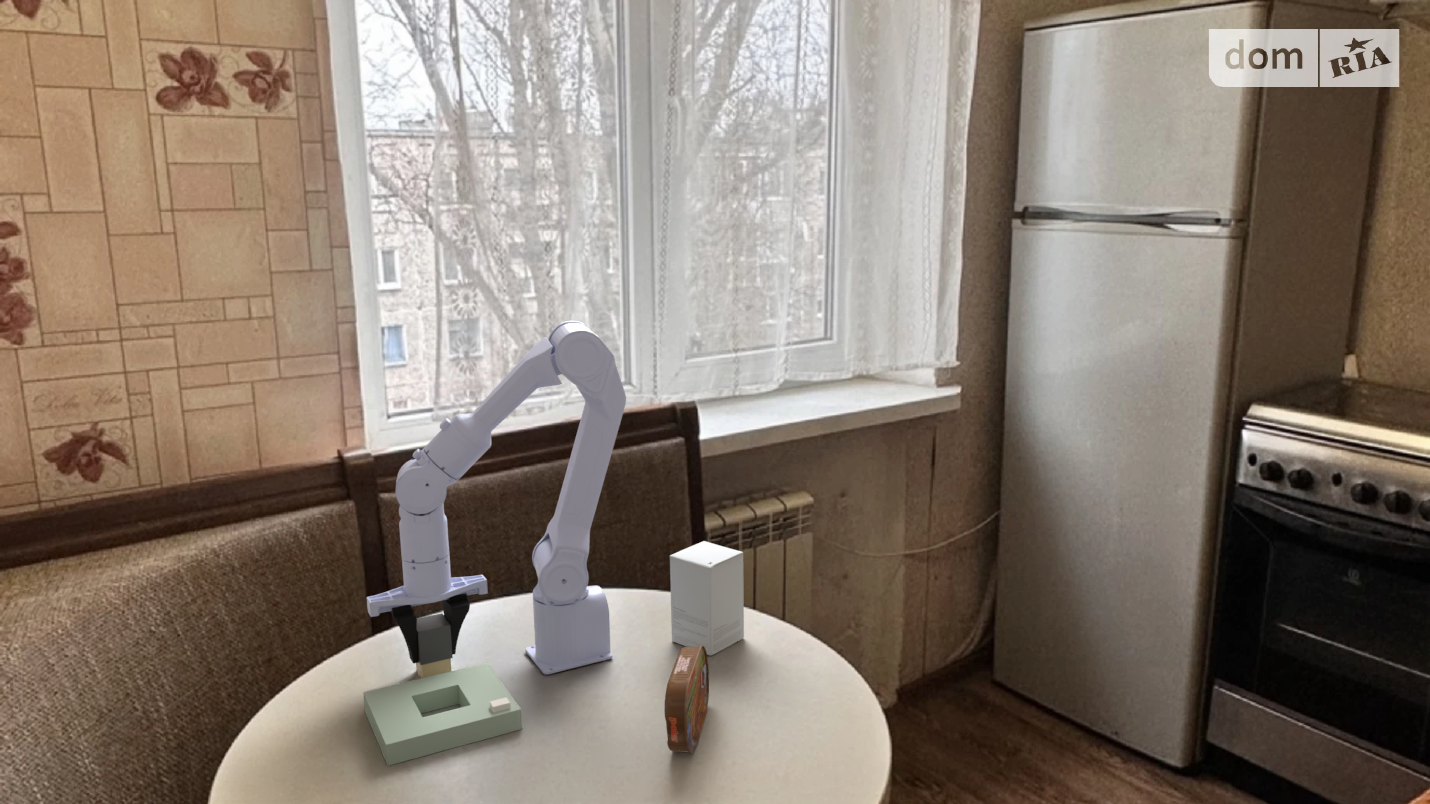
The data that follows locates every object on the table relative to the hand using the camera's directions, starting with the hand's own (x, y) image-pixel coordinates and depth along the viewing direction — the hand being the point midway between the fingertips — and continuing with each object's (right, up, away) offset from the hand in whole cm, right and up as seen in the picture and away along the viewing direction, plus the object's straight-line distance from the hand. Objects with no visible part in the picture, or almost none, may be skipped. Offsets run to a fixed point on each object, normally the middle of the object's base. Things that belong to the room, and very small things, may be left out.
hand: (432, 655), depth 127 cm
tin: (+33, -5, -13) cm, 36 cm away
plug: (0, -2, +1) cm, 2 cm away
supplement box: (+35, 0, +10) cm, 36 cm away
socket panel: (+4, -5, -11) cm, 12 cm away
